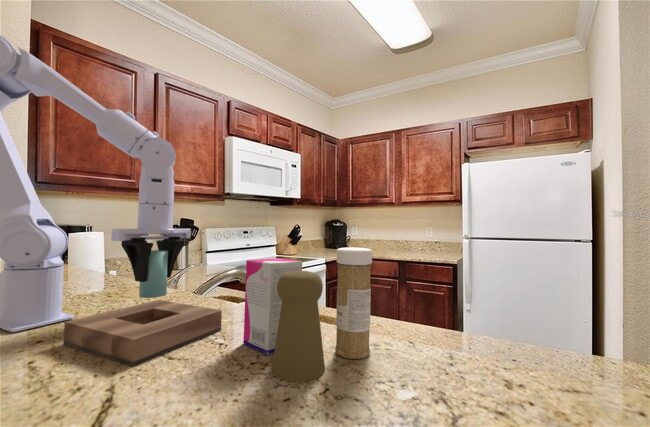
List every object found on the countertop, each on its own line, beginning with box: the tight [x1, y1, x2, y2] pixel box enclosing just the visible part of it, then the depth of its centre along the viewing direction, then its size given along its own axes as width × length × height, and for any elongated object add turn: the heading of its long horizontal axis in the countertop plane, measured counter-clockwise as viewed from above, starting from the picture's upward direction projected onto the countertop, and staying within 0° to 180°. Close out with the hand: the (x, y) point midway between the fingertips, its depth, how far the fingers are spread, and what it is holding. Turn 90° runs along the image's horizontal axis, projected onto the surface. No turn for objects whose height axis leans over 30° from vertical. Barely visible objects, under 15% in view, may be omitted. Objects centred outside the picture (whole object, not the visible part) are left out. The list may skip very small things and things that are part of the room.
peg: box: [138, 249, 168, 299], centre depth 59 cm, size 4×4×8 cm
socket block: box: [63, 299, 223, 367], centre depth 46 cm, size 14×14×3 cm
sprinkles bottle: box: [334, 246, 373, 360], centre depth 41 cm, size 5×5×13 cm
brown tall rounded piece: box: [271, 270, 326, 383], centre depth 37 cm, size 6×6×11 cm
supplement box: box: [242, 257, 303, 356], centre depth 44 cm, size 6×6×12 cm
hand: (153, 279), depth 59 cm, fingers closed on peg, 4 cm apart
